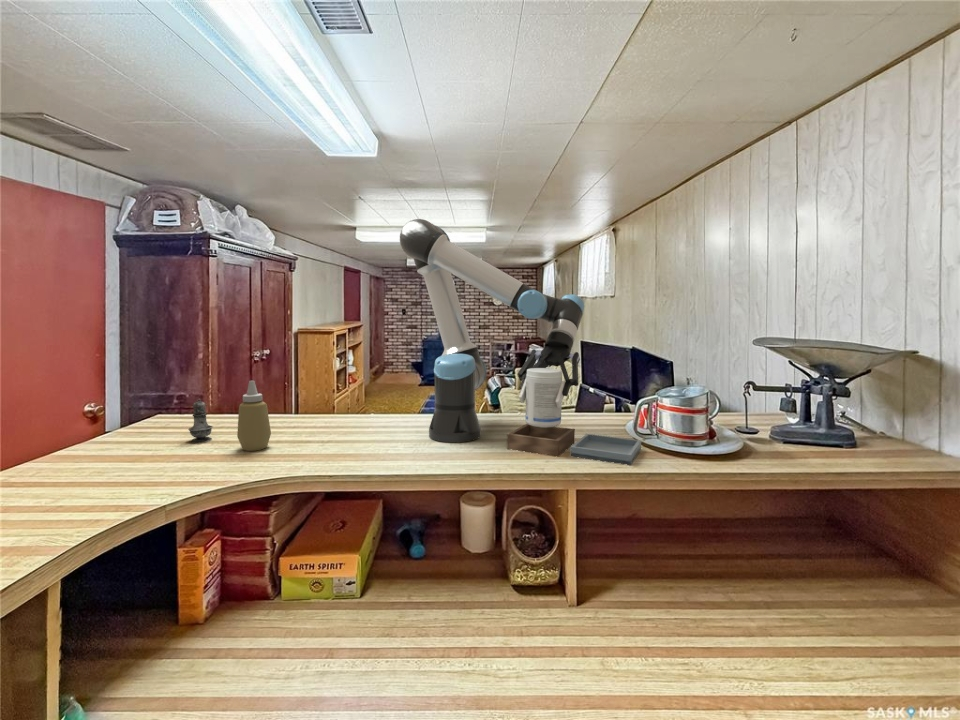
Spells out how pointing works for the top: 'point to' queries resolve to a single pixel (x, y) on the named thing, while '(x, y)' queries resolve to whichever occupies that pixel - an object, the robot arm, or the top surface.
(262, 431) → the squeeze bottle
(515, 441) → the tray
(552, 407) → the supplement tub
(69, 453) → the top surface
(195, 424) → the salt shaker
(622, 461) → the tray
